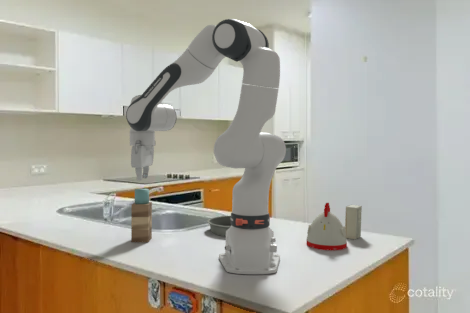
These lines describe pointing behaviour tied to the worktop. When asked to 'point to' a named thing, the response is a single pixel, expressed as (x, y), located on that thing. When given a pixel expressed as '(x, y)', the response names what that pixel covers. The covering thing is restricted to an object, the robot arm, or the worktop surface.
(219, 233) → the cake pan
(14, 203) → the worktop surface
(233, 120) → the robot arm
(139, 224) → the tower block
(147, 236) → the tower block
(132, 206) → the tower block
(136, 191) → the teal cube
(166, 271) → the worktop surface
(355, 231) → the skincare box
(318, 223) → the kitchen timer
